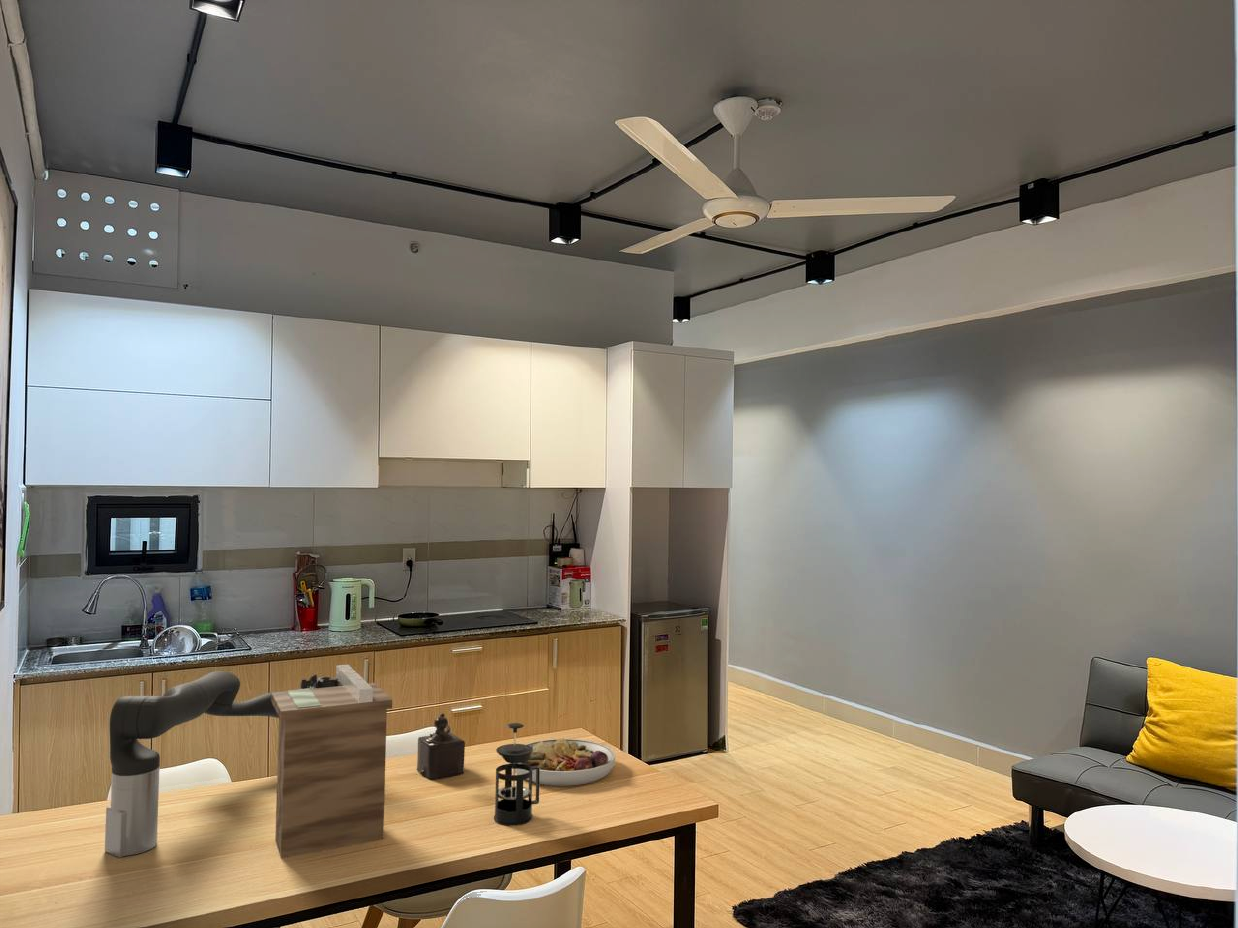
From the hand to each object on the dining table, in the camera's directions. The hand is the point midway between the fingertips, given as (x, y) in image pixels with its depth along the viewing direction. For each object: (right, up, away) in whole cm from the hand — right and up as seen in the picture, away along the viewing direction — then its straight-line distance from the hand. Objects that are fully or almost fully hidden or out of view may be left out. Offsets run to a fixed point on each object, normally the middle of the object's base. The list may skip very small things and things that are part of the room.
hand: (332, 676), depth 226 cm
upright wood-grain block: (+10, -28, -33) cm, 45 cm away
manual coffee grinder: (+28, -30, +9) cm, 42 cm away
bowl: (+62, -31, +14) cm, 71 cm away
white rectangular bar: (+14, +3, -24) cm, 28 cm away
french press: (+52, -30, -21) cm, 64 cm away
